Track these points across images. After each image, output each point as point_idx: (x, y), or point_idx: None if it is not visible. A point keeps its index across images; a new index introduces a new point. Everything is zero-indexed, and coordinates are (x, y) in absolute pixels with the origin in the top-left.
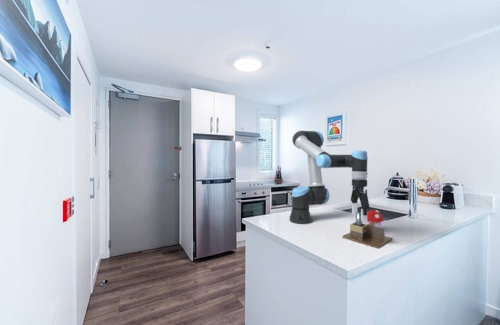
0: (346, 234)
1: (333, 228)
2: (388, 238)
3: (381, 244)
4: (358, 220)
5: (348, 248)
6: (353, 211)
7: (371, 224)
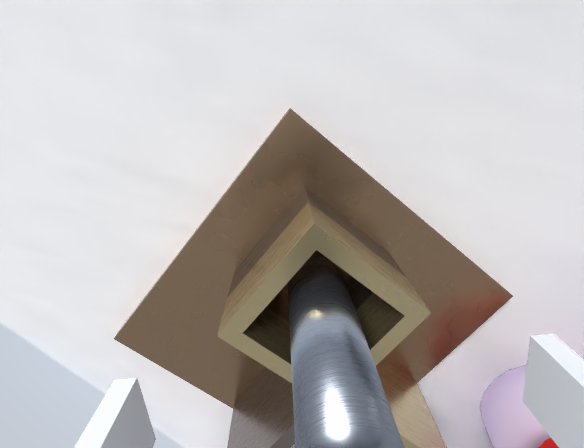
0: (341, 158)
1: (578, 59)
2: None
3: (171, 370)
4: (296, 350)
5: (23, 112)
6: (568, 391)
7: None
